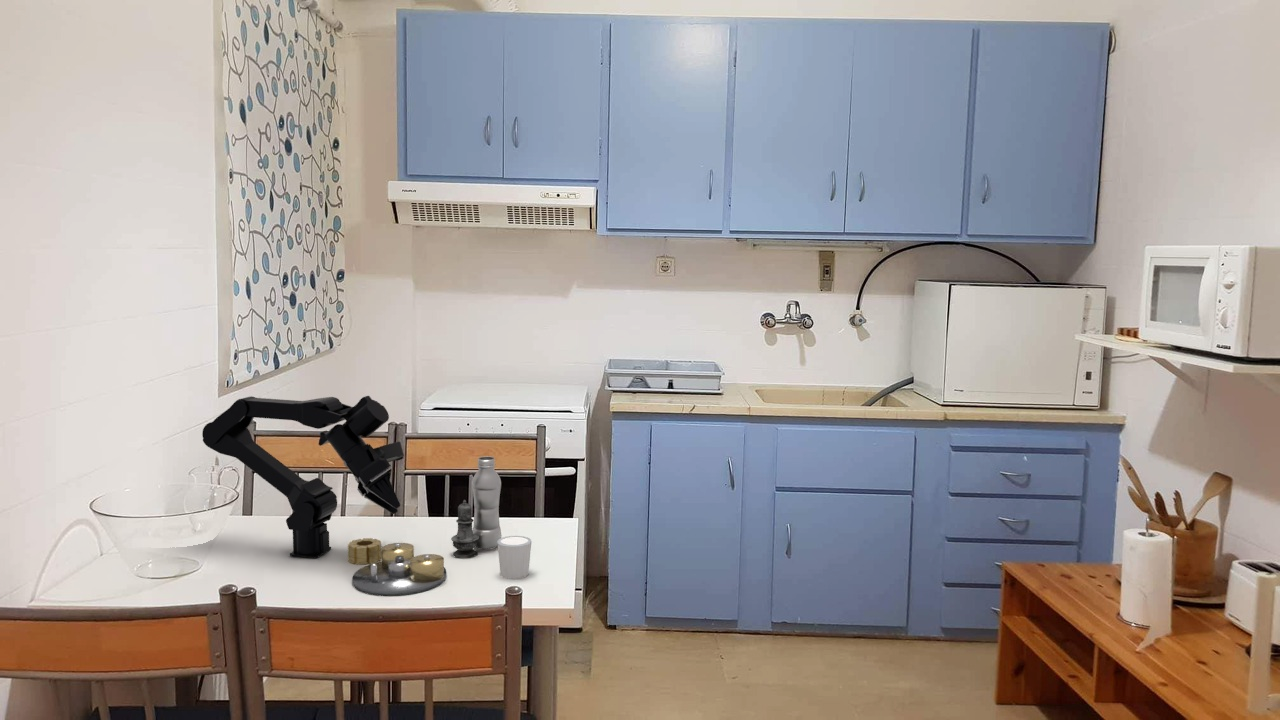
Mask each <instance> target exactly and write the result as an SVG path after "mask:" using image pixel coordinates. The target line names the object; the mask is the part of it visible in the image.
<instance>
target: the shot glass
mask: <svg viewBox="0 0 1280 720" xmlns="http://www.w3.org/2000/svg"><path fill="white" fill-rule="evenodd" d="M497 543H498V547H497V549H498V550H497V552H498V563H499V571H500V572H499V573H500V576H501V577H502V578H503V579H504V578H505V579H509V580H516V579H523V578H525V576H526V577H527V576H528V575H529V573H530V572H529V571H530V563H531V562H530V561H531V553H532V552H531V550H532V539H531V538H530V537H527V536H524V535H509V536H504V537H501V538H500V539H499V540H498V541H497Z"/></svg>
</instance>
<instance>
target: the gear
mask: <svg viewBox="0 0 1280 720" xmlns="http://www.w3.org/2000/svg"><path fill="white" fill-rule="evenodd" d="M381 548H382V541H381V539H377V538H372V537H370V538H362V539H361V538H357V539H354V540H352V541H350V542H349V543H348V544H347V553H348V554H347V557H348V559H347V560H348V563H351V564H353V565H357V566H358V564H364V565H365V566H367V565H370V564H371V563H372V564H374V563H377V562H381V560H382V556H381ZM366 564H367V565H366Z"/></svg>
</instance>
